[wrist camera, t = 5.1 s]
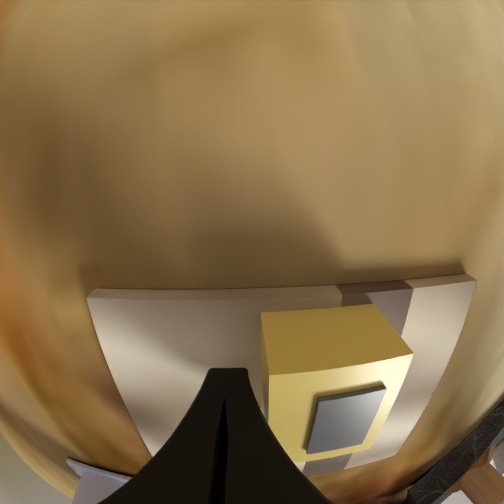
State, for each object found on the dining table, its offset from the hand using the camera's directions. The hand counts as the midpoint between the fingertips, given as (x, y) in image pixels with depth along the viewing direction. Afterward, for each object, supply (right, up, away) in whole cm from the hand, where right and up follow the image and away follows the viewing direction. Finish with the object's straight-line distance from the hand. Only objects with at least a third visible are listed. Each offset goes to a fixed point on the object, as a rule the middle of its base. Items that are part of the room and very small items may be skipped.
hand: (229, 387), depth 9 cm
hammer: (+25, -18, +9) cm, 32 cm away
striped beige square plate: (+3, -3, +3) cm, 5 cm away
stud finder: (+3, 0, +1) cm, 3 cm away
